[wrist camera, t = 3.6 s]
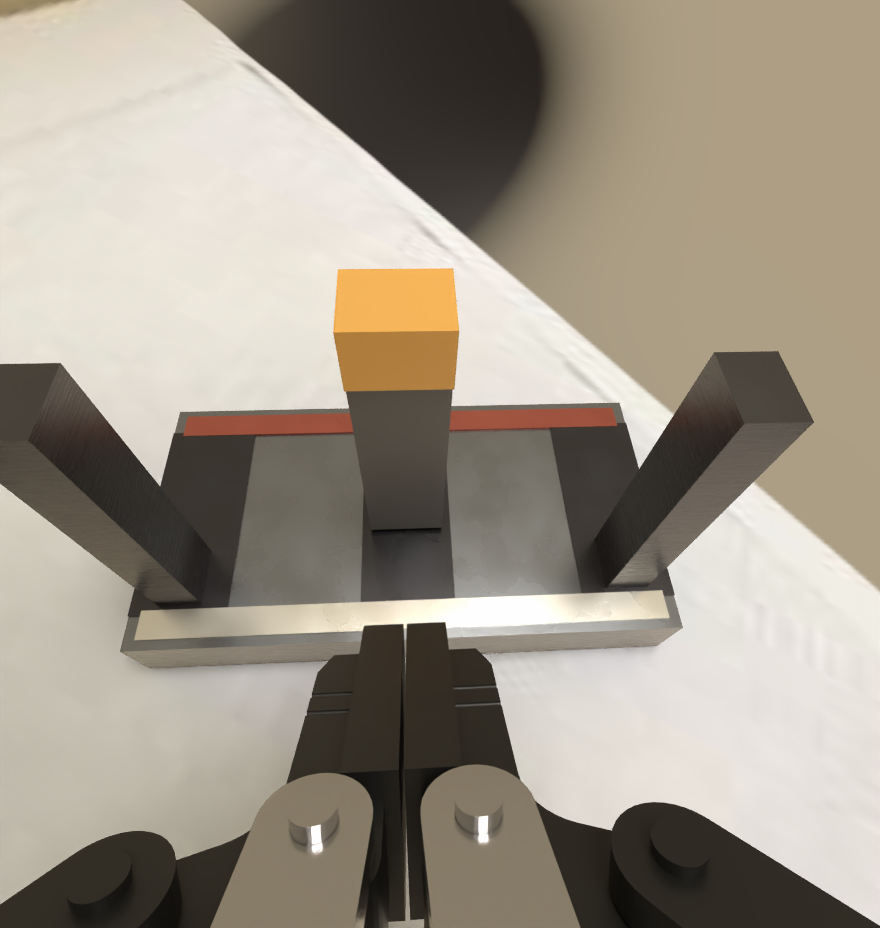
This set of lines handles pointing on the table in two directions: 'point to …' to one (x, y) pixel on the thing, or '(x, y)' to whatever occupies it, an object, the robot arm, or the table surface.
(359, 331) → the lever
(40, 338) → the table surface
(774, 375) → the pillared base stand
